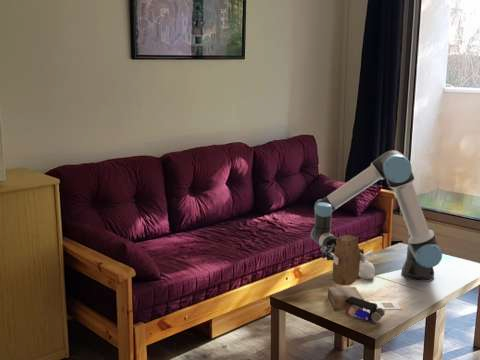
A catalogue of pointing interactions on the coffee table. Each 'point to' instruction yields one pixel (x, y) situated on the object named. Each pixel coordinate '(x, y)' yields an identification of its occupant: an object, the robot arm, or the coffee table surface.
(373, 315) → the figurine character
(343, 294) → the tower base
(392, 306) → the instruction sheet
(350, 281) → the block
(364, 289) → the coffee table surface
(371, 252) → the rabbit
